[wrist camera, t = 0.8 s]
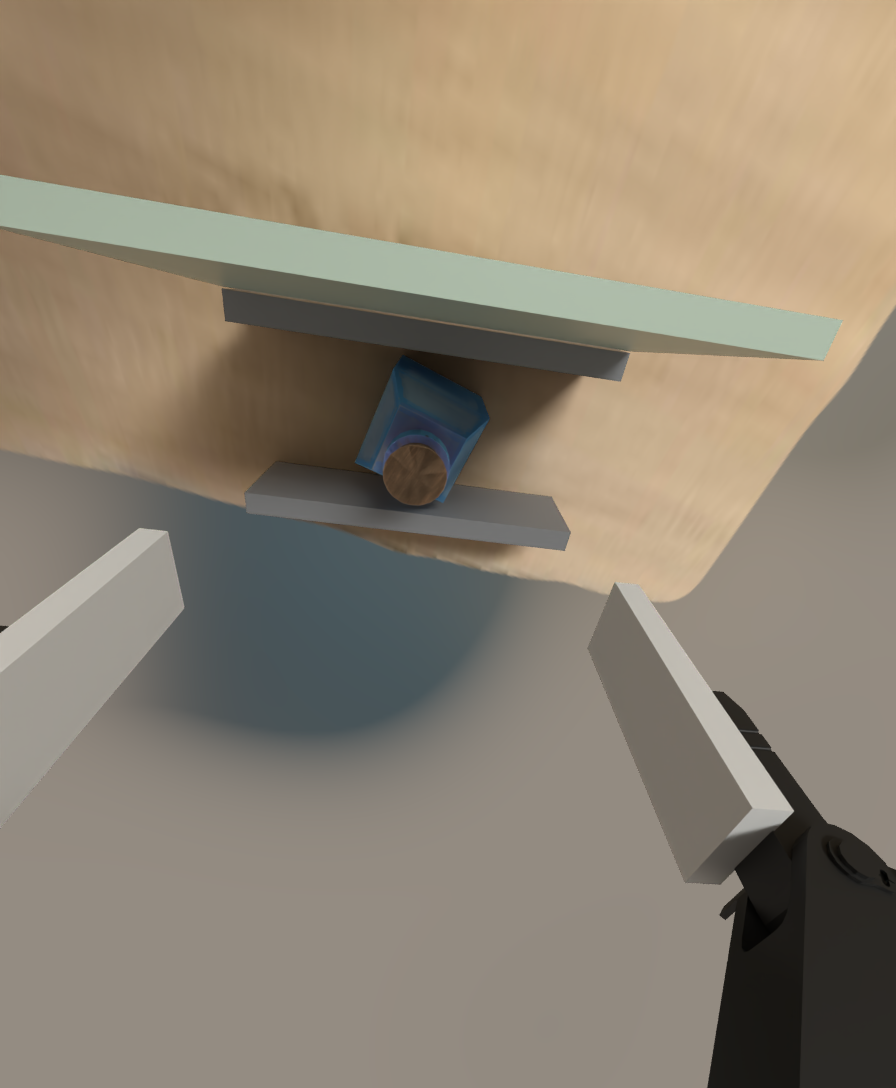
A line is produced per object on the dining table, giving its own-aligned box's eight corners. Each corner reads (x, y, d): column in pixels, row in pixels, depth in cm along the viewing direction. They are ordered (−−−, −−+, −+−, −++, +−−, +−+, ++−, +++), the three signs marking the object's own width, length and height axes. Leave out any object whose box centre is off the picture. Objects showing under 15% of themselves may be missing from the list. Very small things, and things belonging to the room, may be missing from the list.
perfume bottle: (443, 469, 33) (443, 548, 23) (369, 434, 32) (334, 501, 21) (481, 396, 30) (501, 449, 20) (403, 354, 29) (380, 387, 19)
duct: (264, 289, 27) (221, 288, 22) (596, 342, 29) (630, 353, 23) (277, 479, 33) (246, 513, 28) (546, 513, 35) (564, 550, 30)
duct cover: (223, 286, 22) (221, 264, 21) (628, 351, 24) (634, 331, 23) (-34, 220, 10) (-49, 166, 10) (823, 360, 12) (843, 320, 11)
